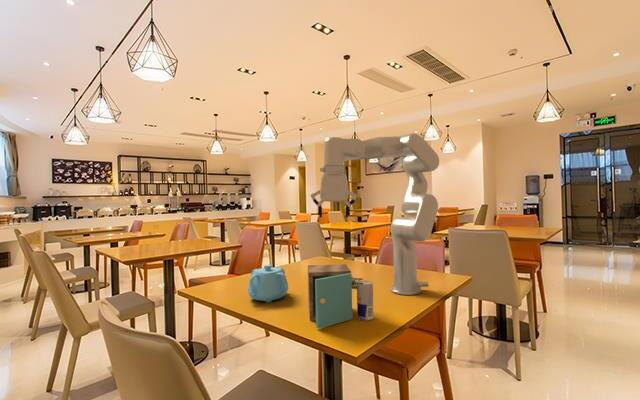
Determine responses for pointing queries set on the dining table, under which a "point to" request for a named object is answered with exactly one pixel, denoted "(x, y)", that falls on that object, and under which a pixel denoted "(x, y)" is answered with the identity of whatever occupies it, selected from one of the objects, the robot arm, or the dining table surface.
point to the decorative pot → (267, 284)
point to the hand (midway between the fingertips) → (333, 217)
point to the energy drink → (365, 300)
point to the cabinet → (318, 273)
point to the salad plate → (355, 281)
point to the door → (333, 299)
